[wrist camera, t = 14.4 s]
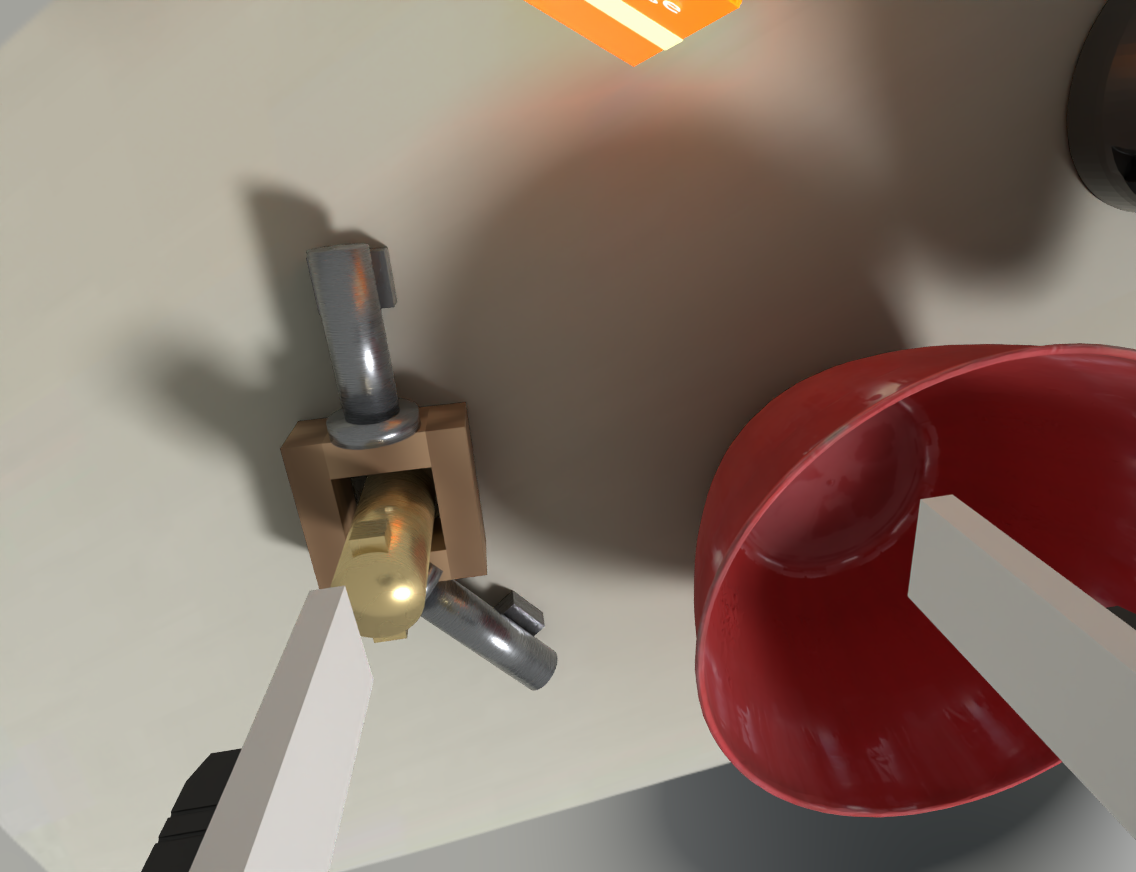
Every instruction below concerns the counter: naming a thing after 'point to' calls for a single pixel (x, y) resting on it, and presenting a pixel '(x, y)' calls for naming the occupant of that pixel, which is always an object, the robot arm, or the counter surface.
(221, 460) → the counter surface
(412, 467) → the coupling block
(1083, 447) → the mixing bowl
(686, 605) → the counter surface
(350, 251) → the shaft
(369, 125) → the counter surface
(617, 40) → the orange juice
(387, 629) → the joint pin
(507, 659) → the shaft
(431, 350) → the counter surface
